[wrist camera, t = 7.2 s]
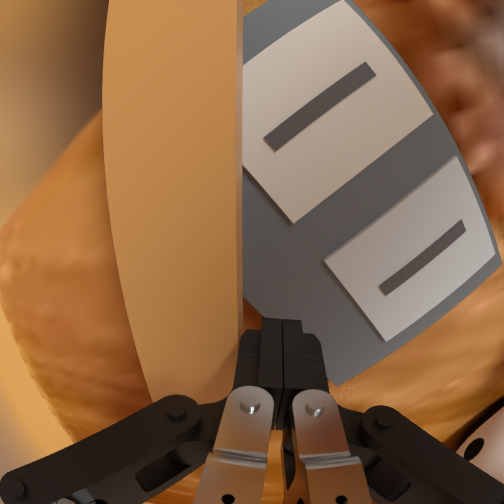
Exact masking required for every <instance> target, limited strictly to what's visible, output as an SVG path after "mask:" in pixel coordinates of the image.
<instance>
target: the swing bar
mask: <svg viewBox="0 0 504 504" xmlns="http://www.w3.org/2000/svg"><path fill="white" fill-rule="evenodd" d="M243 4H244V0H109V8H108V16H107V24H106V34H105V35H106V36H105V46H104V62H103V89H102V96H103V97H102V98H103V99H102V119H103V148H104V164H105V177H106V188H107V198H108V207H109V215H110V223H111V230H112V237H113V243H114V249H115V255H116V261H117V267H118V272H119V277H120V282H121V287H122V292H123V297H124V301H125V306H126V310H127V315H128V319H129V323H130V327H131V331H132V335H133V339H134V342H135V346H136V350H137V353H138V357H139V360H140V364H141V367H142V370H143V374H144V377H145V380H146V383H147V386H148V390H149V393H150V396H151V399H152V402H153V403H154V402H156V401H158V400H160V399H161V398H163V397H165V396H168V395H174V394H179V395H185V396H188V397H190V398H192V399H193V400H195V401H196V402H197V404H198V405H199V404H207V403H214V402H217V401H220V400H222V399H224V398H225V397H227V396H228V395H229V393H230V392H231V390H232V388H233V383H234V376H235V370H236V364H237V357H238V351H239V345H240V338H241V336H242V335H243V257H242V94H243Z"/></svg>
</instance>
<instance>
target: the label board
mask: <svg viewBox="0 0 504 504" xmlns="http://www.w3.org/2000/svg"><path fill="white" fill-rule="evenodd" d="M242 257H243V297H244V298H245V299H246V300H247V301H248V302H249V303H250V304H251V305H252V306H253V307H254V308H255V309H256V310H257V311H258V312H259V313H260V314H261V315H262V316H263V317H265V318H278V319H281V321H282V319H293V320H301V321H302V328H303V333H311V334H315V336H316V337H317V338H318V340H319V341H320V342H321V347H322V354H323V358H324V364H325V370H326V376H327V378H328V379H329V380H330V381H331V382H332V383H334V384H335V385H336V386H338V385H340V384H342V383H344V382H345V381H347V380H349V379H351V378H352V377H354V376H356V375H358V374H359V373H361V372H363V371H364V370H366V369H367V368H369V367H371V366H372V365H374V364H375V363H377V362H379V361H380V360H382V359H383V358H385V357H386V356H388V355H389V354H391V353H393V352H394V351H395V350H397V349H398V348H400V347H401V346H403V345H404V344H406V343H407V342H409V341H410V340H411V339H413V338H414V337H416V336H417V335H418V334H420V333H421V332H423V331H424V330H425V329H427V328H428V327H429V326H431V325H432V324H433V323H435V322H436V321H437V320H438V319H440V318H441V317H442V316H444V315H445V314H446V313H447V312H449V311H450V310H451V309H452V308H454V307H455V306H456V305H457V304H458V303H460V302H461V301H462V300H463V299H464V298H466V297H467V296H468V295H469V294H470V293H471V292H473V291H474V290H475V289H476V288H477V287H478V286H479V285H480V284H482V283H483V282H484V281H485V280H486V279H487V278H488V277H489V276H490V275H491V274H492V273H493V272H494V271H495V270H497V269H498V268H499V267H500V266H501V265H502V261H501V257H500V254H499V250H498V247H497V243H496V240H495V237H494V234H493V231H492V228H491V225H490V222H489V219H488V216H487V214H486V211H485V208H484V205H483V203H482V200H481V198H480V195H479V193H478V190H477V188H476V186H475V183H474V181H473V179H472V176H471V174H470V172H469V170H468V168H467V165H466V163H465V161H464V159H463V157H462V155H461V153H460V151H459V149H458V147H457V145H456V143H455V141H454V139H453V137H452V135H451V134H450V132H449V130H448V128H447V126H446V125H445V123H444V121H443V119H442V118H441V116H440V114H439V113H438V111H437V109H436V108H435V106H434V104H433V103H432V101H431V99H430V98H429V96H428V95H427V93H426V92H425V90H424V89H423V87H422V86H421V84H420V83H419V81H418V80H417V78H416V77H415V75H414V74H413V73H412V71H411V70H410V68H409V67H408V66H407V64H406V63H405V62H404V60H403V59H402V58H401V56H400V55H399V54H398V52H397V51H396V50H395V49H394V47H393V46H392V45H391V44H390V42H389V41H388V40H387V39H386V37H385V36H384V35H383V34H382V33H381V32H380V30H379V29H378V28H377V27H376V26H375V25H374V24H373V22H372V21H371V20H370V19H369V18H368V17H367V16H366V15H365V14H364V13H363V12H362V10H361V9H360V8H359V7H358V6H357V5H356V4H355V3H354V2H353V1H352V0H269V1H267V2H265V3H264V4H262V5H261V6H259V7H258V8H256V9H255V10H253V11H252V12H250V13H249V14H247V15H246V16H245V17H243V94H242Z"/></svg>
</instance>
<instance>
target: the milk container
mask: <svg viewBox="0 0 504 504" xmlns="http://www.w3.org/2000/svg"><path fill="white" fill-rule="evenodd" d="M455 452H456V453H457V454H459V455H460V456H462V457H463V458H465V459H466V460H468V461H469V462H471V463H472V464H474V465H475V466H477V467H478V468H480V469H481V470H483V471H484V472H486V473H487V474H489V475H490V476H492V477H494V478H495V479H497V480H498V481H500V482H501V483H503V484H504V402H503V403H502V404H501V405H499V406H498V407H497V408H496V409H495V410H493V411H492V412H491V413H490V414H489V415H487V416H486V417H485V418H484V419H483V420H482V421H481V422H480V423H479V424H478V425H477V426H476V427H474V428H473V429H472V430H471V431H470V432H469V433H468V435H467V436H466V437H465V438H464V440H463V441H462V442H461V443H460V444H459V446H458V448H457V450H456V451H455Z"/></svg>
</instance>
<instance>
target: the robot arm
mask: <svg viewBox="0 0 504 504" xmlns="http://www.w3.org/2000/svg"><path fill="white" fill-rule="evenodd" d="M275 422H276V427H275ZM274 427H275V430H283V440H282V444H281V449H280V450H281V462H282V475H283V487H284V499H283V504H372V501H371V498H372V499H373V500H374V501H376V502H377V503H378V504H504V484H503V483H501V482H500V481H498V480H497V479H495V478H494V477H492V476H490V475H489V474H487V473H486V472H484V471H483V470H481V469H480V468H478V467H477V466H475V465H474V464H472V463H471V462H469V461H468V460H466V459H465V458H463V457H462V456H460V455H459V454H457V453H456V452H454V451H453V450H451V449H450V448H448V447H447V446H446V445H444V444H443V443H441V442H440V441H438V440H437V439H435V438H434V437H433V436H431V435H430V434H428V433H427V432H426V431H424V430H423V429H421V428H420V427H418V426H417V425H416V424H414V423H413V422H411V421H410V420H409V419H407V418H406V417H405V416H403V415H402V414H400V413H399V412H398V411H396V410H395V409H393V408H391V407H388V406H383V405H379V406H374V407H371V408H369V409H368V410H367V411H366V412H365V413H361V412H357V411H352V410H349V409H345V408H343V407H341V406H340V405H338V404H337V403H336V401H335V399H334V398H333V397H332V396H331V395H330V393H329V388H328V382H327V376H326V370H325V364H324V358H323V354H322V347H321V342H320V341H319V340H318V338H317V337H316V336H315V334H311V333H303V328H302V321H301V320H293V319H282V321H281V319H278V318H265V317H262V327H261V330H252V329H247V330H246V332H245V333H244V334H243V335H242V336H241V338H240V345H239V351H238V357H237V364H236V370H235V376H234V383H233V388H232V390H231V392H230V393H229V395H228V396H227V397H225V398H224V399H222V400H220V401H217V402H214V403H207V404H199V405H198V404H197V402H196V401H195V400H193V399H192V398H190V397H188V396H185V395H179V394H174V395H168V396H165V397H163V398H161V399H160V400H158V401H156V402H154V403H152V404H151V405H149V406H147V407H145V408H143V409H142V410H140V411H138V412H136V413H134V414H132V415H130V416H129V417H127V418H125V419H123V420H121V421H119V422H117V423H115V424H113V425H111V426H109V427H107V428H105V429H103V430H101V431H99V432H97V433H95V434H93V435H91V436H89V437H87V438H85V439H83V440H81V441H79V442H77V443H75V444H73V445H70V446H68V447H66V448H64V449H62V450H60V451H58V452H55V453H53V454H51V455H49V456H46V457H44V458H41V459H39V460H37V461H34V462H32V463H29V464H27V465H24V466H22V467H20V468H17V469H14V470H12V471H10V472H7V473H6V474H5V475H4V476H3V477H2V479H1V481H0V497H1V499H2V501H3V502H4V503H5V504H142V503H144V502H146V501H148V500H149V499H151V498H153V497H154V496H156V495H158V494H159V493H161V492H162V491H164V490H166V489H167V488H169V487H170V486H172V485H173V484H175V483H176V482H178V481H180V480H181V479H183V478H184V477H186V476H187V475H188V474H190V473H191V472H193V471H194V470H196V469H197V468H199V467H200V466H201V465H202V464H203V463H205V465H204V468H203V472H202V475H201V479H200V482H199V485H198V489H197V492H196V495H195V499H194V502H193V504H261V499H262V493H263V487H264V480H265V473H266V466H267V453H268V446H269V439H270V434H271V430H274Z"/></svg>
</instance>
